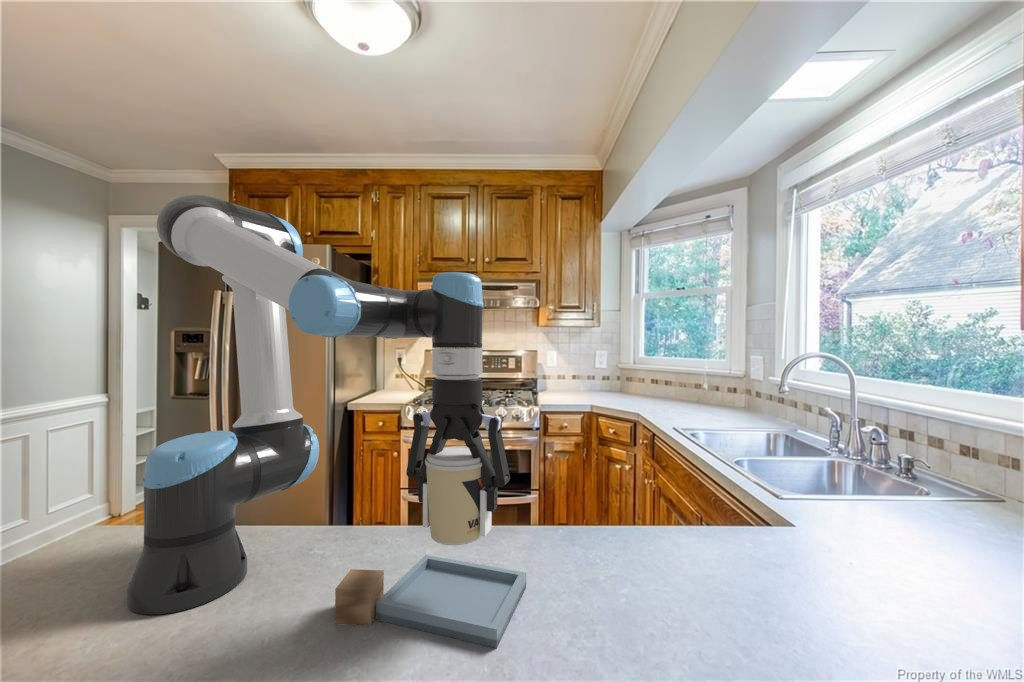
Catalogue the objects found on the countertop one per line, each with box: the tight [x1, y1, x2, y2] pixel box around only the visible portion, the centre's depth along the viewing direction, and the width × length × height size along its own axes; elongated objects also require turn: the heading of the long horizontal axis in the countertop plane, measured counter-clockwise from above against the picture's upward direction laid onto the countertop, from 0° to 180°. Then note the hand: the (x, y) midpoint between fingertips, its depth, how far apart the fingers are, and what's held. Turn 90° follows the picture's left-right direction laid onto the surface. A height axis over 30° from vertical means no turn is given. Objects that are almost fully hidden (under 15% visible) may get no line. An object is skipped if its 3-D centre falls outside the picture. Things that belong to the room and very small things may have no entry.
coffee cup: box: [424, 446, 485, 546], centre depth 63 cm, size 9×9×12 cm
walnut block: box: [334, 568, 385, 627], centre depth 61 cm, size 5×5×5 cm
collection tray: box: [375, 554, 527, 649], centre depth 63 cm, size 18×14×2 cm
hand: (457, 527), depth 63 cm, fingers closed on coffee cup, 9 cm apart
